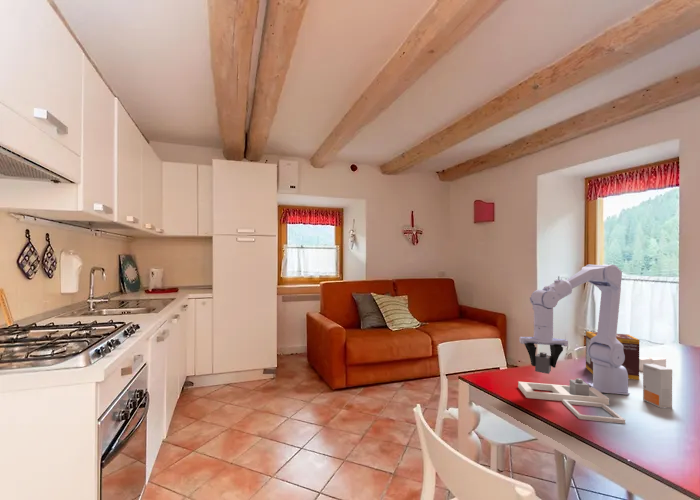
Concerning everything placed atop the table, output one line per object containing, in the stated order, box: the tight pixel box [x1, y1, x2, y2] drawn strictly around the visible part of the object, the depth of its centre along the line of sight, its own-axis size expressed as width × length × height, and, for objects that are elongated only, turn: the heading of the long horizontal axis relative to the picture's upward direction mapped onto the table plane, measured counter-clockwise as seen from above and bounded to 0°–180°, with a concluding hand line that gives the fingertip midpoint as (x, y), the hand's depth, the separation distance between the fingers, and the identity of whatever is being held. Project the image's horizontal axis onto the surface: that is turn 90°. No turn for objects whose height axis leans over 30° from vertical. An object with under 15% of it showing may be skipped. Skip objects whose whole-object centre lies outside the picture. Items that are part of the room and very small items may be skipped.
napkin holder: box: [639, 357, 667, 372], centre depth 147 cm, size 15×11×6 cm
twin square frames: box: [517, 381, 610, 406], centre depth 116 cm, size 24×10×2 cm, turn 79°
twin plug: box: [569, 377, 590, 396], centre depth 115 cm, size 4×4×6 cm
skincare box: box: [642, 364, 673, 409], centre depth 111 cm, size 6×4×12 cm
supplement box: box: [585, 330, 640, 381], centre depth 141 cm, size 10×15×16 cm
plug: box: [534, 351, 552, 375], centre depth 117 cm, size 4×4×6 cm
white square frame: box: [562, 399, 626, 424], centre depth 103 cm, size 12×12×1 cm
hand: (543, 366), depth 117 cm, fingers closed on plug, 5 cm apart
